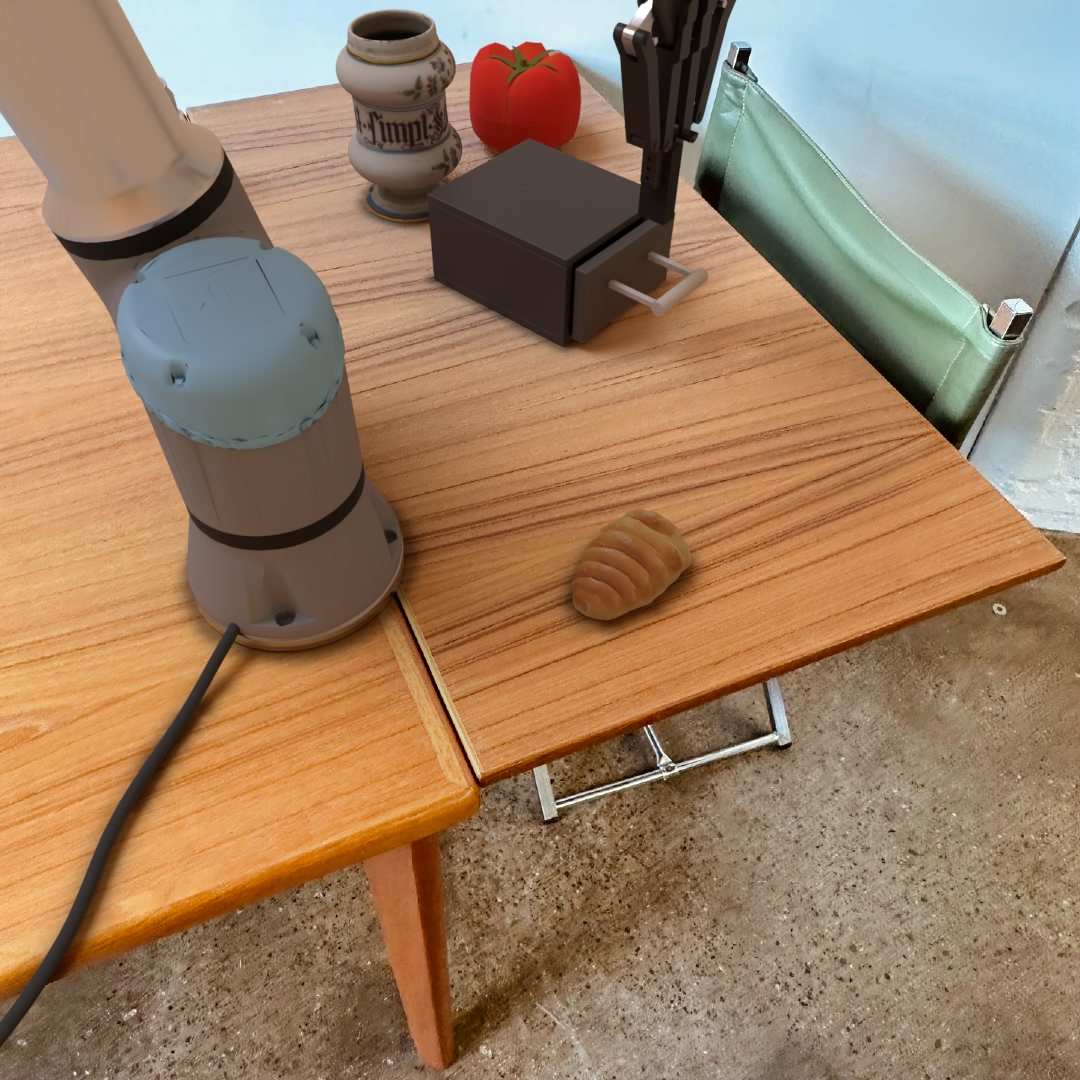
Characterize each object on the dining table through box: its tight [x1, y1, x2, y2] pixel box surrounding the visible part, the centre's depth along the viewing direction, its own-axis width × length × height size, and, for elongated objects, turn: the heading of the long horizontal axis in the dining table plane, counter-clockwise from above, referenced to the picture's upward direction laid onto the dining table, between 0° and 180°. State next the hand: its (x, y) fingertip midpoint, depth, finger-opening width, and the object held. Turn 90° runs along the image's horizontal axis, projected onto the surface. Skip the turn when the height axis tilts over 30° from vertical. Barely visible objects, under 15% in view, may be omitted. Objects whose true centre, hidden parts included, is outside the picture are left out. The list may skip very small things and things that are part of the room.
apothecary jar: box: [335, 8, 463, 224], centre depth 94 cm, size 12×12×18 cm
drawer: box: [569, 211, 709, 344], centre depth 85 cm, size 22×13×7 cm, turn 50°
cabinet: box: [427, 138, 648, 348], centre depth 88 cm, size 17×15×9 cm
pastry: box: [571, 508, 693, 621], centre depth 65 cm, size 9×7×4 cm
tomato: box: [468, 41, 582, 153], centre depth 105 cm, size 14×13×10 cm
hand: (655, 216), depth 78 cm, fingers closed
